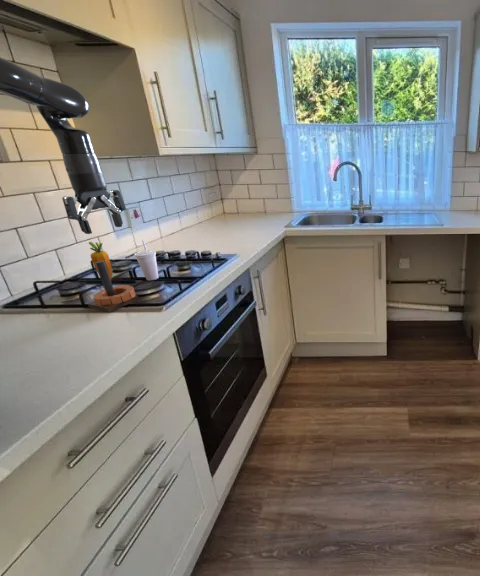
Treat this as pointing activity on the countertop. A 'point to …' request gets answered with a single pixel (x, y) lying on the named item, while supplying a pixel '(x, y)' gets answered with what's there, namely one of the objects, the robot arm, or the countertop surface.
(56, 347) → the countertop surface
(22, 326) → the countertop surface
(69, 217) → the robot arm
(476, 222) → the countertop surface
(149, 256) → the smoothie
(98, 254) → the carrot
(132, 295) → the hang ring
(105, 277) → the peg stand
